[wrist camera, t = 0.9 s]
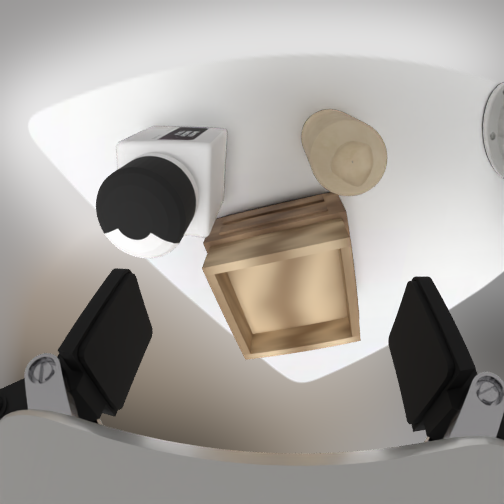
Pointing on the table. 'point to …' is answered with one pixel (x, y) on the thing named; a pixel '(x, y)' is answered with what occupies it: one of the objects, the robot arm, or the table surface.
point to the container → (163, 188)
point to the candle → (343, 152)
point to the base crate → (277, 219)
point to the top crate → (287, 289)
